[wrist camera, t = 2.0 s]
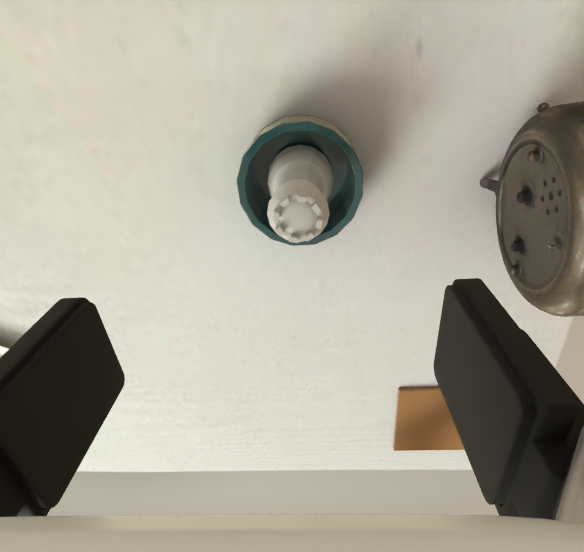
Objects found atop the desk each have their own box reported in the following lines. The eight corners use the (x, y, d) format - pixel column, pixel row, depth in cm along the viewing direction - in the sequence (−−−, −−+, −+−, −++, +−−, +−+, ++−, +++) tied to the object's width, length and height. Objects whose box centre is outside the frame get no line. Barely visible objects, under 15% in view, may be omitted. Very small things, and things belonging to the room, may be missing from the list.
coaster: (495, 385, 35) (497, 388, 35) (479, 446, 40) (480, 449, 39) (398, 388, 36) (399, 391, 35) (393, 447, 40) (393, 450, 40)
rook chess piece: (281, 132, 24) (271, 161, 17) (344, 158, 25) (357, 196, 18) (259, 194, 26) (242, 242, 19) (317, 217, 27) (320, 271, 20)
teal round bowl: (357, 110, 24) (363, 116, 21) (356, 224, 28) (361, 242, 25) (236, 120, 24) (228, 127, 22) (252, 231, 28) (247, 248, 26)
